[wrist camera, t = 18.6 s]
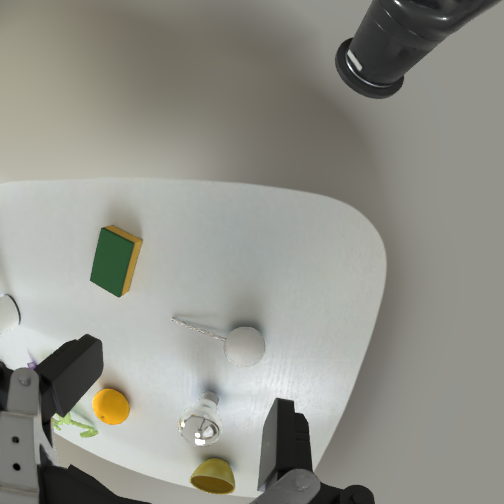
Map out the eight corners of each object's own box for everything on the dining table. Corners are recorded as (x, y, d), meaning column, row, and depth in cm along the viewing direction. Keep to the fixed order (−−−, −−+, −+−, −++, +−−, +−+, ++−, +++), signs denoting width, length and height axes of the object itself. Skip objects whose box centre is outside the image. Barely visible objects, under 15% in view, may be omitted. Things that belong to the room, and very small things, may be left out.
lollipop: (184, 316, 44) (268, 347, 40) (166, 343, 40) (255, 379, 36) (178, 292, 40) (273, 325, 36) (158, 321, 36) (258, 360, 32)
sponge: (112, 225, 38) (101, 227, 35) (142, 240, 38) (132, 243, 35) (100, 275, 40) (89, 280, 37) (128, 291, 40) (119, 298, 37)
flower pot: (188, 459, 49) (181, 481, 42) (212, 447, 46) (206, 471, 40) (221, 476, 49) (217, 497, 42) (247, 465, 47) (244, 488, 40)
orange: (114, 410, 47) (100, 431, 40) (96, 383, 46) (79, 403, 38) (140, 410, 46) (127, 433, 38) (121, 382, 44) (104, 404, 37)
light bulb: (197, 406, 44) (180, 452, 32) (187, 379, 43) (165, 425, 31) (233, 406, 43) (223, 456, 31) (226, 378, 42) (212, 429, 30)
